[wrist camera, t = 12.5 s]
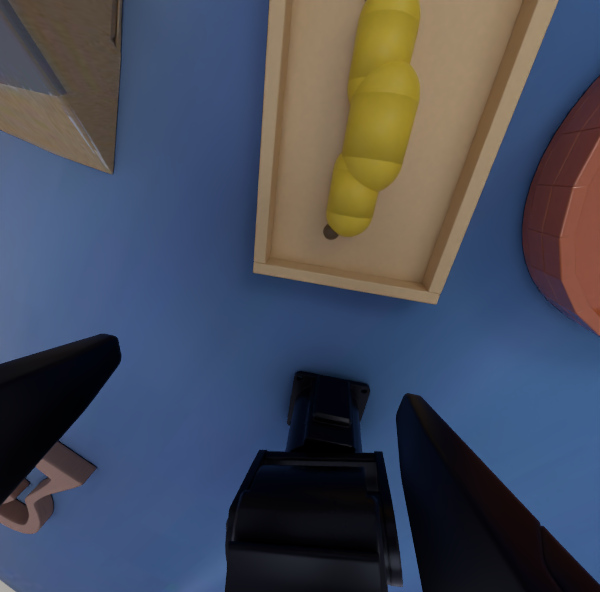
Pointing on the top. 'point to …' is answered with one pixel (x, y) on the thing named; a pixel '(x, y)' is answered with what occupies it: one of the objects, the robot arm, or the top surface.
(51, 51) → the sandwich container
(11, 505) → the wood carving
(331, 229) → the banana
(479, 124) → the tray
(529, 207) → the bowl
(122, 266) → the top surface
